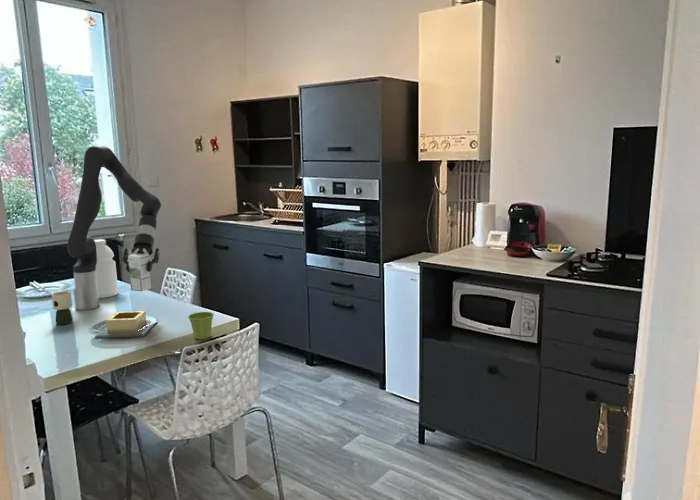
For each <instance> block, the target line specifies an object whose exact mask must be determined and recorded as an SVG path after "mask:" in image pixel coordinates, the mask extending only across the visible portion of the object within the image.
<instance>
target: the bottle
mask: <svg viewBox="0 0 700 500" xmlns="http://www.w3.org/2000/svg"><path fill="white" fill-rule="evenodd" d="M94 241H95V244H96V251H97V264H96V277H97V287H98V297H99V299H104V298H105V299H106V298H110V297H114V296H117V295H118V294H119V287H118V276H117V266H116V265H117V264H116V261H115V260H114V259H113V258H114V257H115V254H114V251H113V250H112V249H111V247H109V246H108V245H107V240H106V239H104V238H103V239H94Z"/></svg>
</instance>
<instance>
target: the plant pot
mask: <svg viewBox="0 0 700 500" xmlns="http://www.w3.org/2000/svg"><path fill="white" fill-rule="evenodd" d="M214 316H215V314H214V313H213V312H210V311H200V312H194V313H191V314H189V315H188V316H187V318H188V319H189V322H190V324H191V328H192V332H193V333H192V334H193V337H194V339H195V340H197V339H198V340H206V339H208V338H210V337H211V336H212V323H213V318H214Z"/></svg>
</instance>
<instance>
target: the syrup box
mask: <svg viewBox="0 0 700 500" xmlns="http://www.w3.org/2000/svg"><path fill="white" fill-rule="evenodd" d="M148 259H149V257H148V254H133V253H131V254H130V255H129V256H128V261H129V272H128V273H129V281H130V284H129V285H130V291H135V292H136V291H137V292H144V291H148V290H151V288H152V284H151V283H152V282H151V274H150V272H151V271H150V272H148V271H147V265H148V262H149V260H148Z"/></svg>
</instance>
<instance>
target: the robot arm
mask: <svg viewBox="0 0 700 500" xmlns="http://www.w3.org/2000/svg"><path fill="white" fill-rule="evenodd" d="M102 168H105V169H106V170H107V171H109V172H110V173H111V174H112V175H113V176H114V178H115V180H116V182H117V184H118V186H119V188H120V189H121V190H122V192H124V194H125V195H126V196H127V197H128V198H129V199H130V200H131V201H133V202H134V203H138V202H141V203H142V206H141V209H140V214H139V221H138V226H137V230H136V232H135V238H134V241H133V247H132V249H128V248H124V251H123V255H122V261H123V264H124V265H125V264H126V265H125V270H126V271H127V273H129V261H128V256H130V255H131V254H148V257H149V259H148V260H149V262H148V265H147V271H148V272H151V271H152V270H153V265H154V264H158V263H159V260H160V256H161V255H160V254H161V251H160V249H159V247H156V248H155V249H153V248H154V243H155V239H156V230H157V216H158V213H159V212H160V209H161V207H162V203H161V200H160V199H159V198H158V197H157V196H155V195H154V194H153V193H151V192H149V191H148V190H146V189H145V188H143V186H141V184H140V183H139V182H138V181H136V179H134V177H133V176H132V175H131V174H130V173H129V172H128V170H126V168H125V167H124V166H123V164H122V163H121V161H120V160H119V158H118V157H117V155H116V154H115V153H114V151H113V150H111V148H110V147H107V146H103V145H90V146H89V147H87V149H86V150H85V153H84V157H83V168H82V169H83V170H82V179H81V184H80V189H79V194H78V198H77V203H76V210H75V214H74V219H73V224H72V228H71V231H70V234H69V237H68V240H67V245H66V249H67V253H68V254H69V256H70V257H71V258H74V259H77V261H76V263H75V264H73V267H72V270H73V271H72V272H73V279H74V288H73V297H74V307H75V310H81V311H87V310H92V309H97V308H99V307H100V301H99V300H100V298H99V297H98V287H97V277H96V264H97V251H96V244H95V241H94V240H95V239H94V238H93V237H92V236H90V235H88V233H89V231H90V228H91V226H92V225H93V223H94V221H95V220H96V218H97V217H98V215H99V213H100V209H101V204H102V199H103V196H102V194H103V193H102V190H101V187H100V182H99V181H100V175H101V170H102ZM152 254H154V255H153V258H151V256H152Z"/></svg>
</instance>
